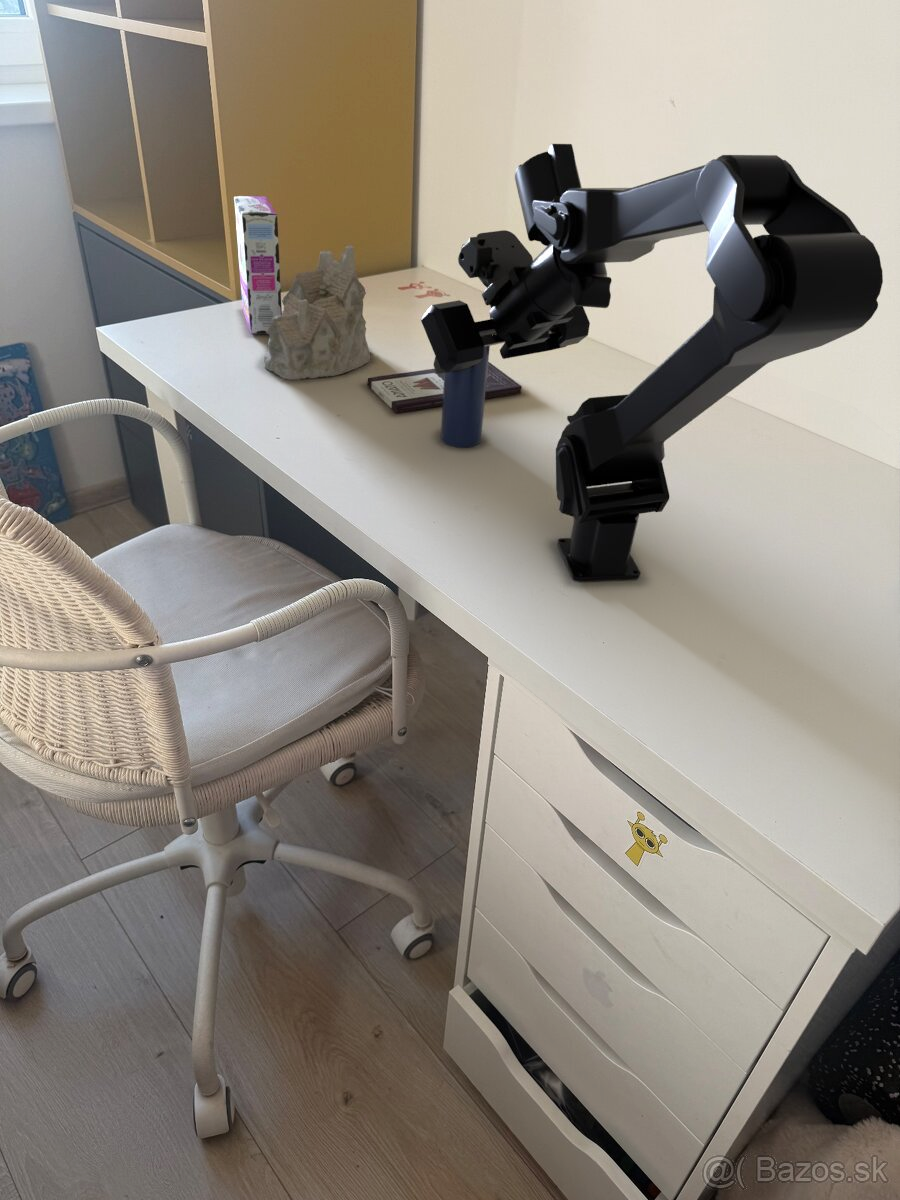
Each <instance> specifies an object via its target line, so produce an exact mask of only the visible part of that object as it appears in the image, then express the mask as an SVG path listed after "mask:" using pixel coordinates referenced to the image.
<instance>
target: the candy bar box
mask: <svg viewBox="0 0 900 1200" xmlns="http://www.w3.org/2000/svg"><path fill="white" fill-rule="evenodd" d="M233 201H234V211H235V227H236V240H237V241H236V242H237V252H238V254H237V255H238V267H239V281H240V293H241V304H242V312H243V314H244V317H245V320H246V323H247V327H248V329H249V333H250V334H251V335H269V334H268V333H266V331H267V329H268V327H269V326H270V325H271V323H272V320H273V319H275V317H276V316H281V315H282V312H283V309H282V288H281V287H282V286H281V266H280V245H279V224H278V213H277V211H276V210H275V209H274V207H273V206H272V203H271V202H270V200H269V198H268V197H267V196H258V195H257V196H256V195H239V196H236V195H235V196H233Z"/></svg>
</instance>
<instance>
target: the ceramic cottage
mask: <svg viewBox="0 0 900 1200" xmlns="http://www.w3.org/2000/svg"><path fill="white" fill-rule="evenodd" d="M354 255H355V247H354V246H352V245H347V246H345V248H344V253H341V254H340V258H339V261H338V260H336V259H335V258H334V254H333V253H332V251H329V250H322V251H321V250H320V252H319V256H318V266H317V268H316V269H313V270H308V271H303V272H299V273H296V276H295V278H294V279H293V282H292V283H291V287H290V288H289V289H288V292H287V293H286V294H285V296H283V298H282V299H281V303H282V305H283V310H282V315H281V316H276V317H275V319H273V320H272V323H271V325H270V326H269V327H268V329H267V331H266V333H268V334H267V335H269V338H268V342H267V343H268V344H267V350H268V352H267V354H266V355H264V356H263V368H265V369H266V370H267V371H270V372H271V373H275V375H276V376H277V375H278V377H280V378H281V379H284V380H288V381H289V380H291V381H293V380H297V381H298V380H301V379H305V380H306V379H307V378H308V379H317V378H322V377H323V378H324V377H326V378H327V377H335V376H339V375H341V374H345V373H349V372H351V371H352V370H357V369H359V368H361V367H362V366H364V365H367V364H368V363H370V360H371V354H370V348H369V345H368V342H367V338H366V332H367V327H366V324H367V321H366V319H365V318H364V315H363V312H364V299H365V296H366V294H367V292H366V288H365V286H364V285H363V284H362V283H361V281H360V279H359V278H358V276H357V270H356V261H355V257H354Z"/></svg>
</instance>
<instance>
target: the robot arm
mask: <svg viewBox="0 0 900 1200" xmlns="http://www.w3.org/2000/svg"><path fill="white" fill-rule="evenodd" d="M514 181H515V185H516V191H517V194H518V199H519V204H520V207H521V212H522V216H523V221H524V226H525V231H526V235H527V238H528V241H529V242H535V241H536V242H539V243H540V244H541V245H543V246H545V248H544V249H543V250H542V251H541V252H540V253H539V254H538V255H537V256H536V257H535V258H534V257H533V256H532V254H531V252H529V250H528V249H527V248H526V246H525V245H524V244H523V243H522V242H521V241H520V239H519V238H518V237H517V235H515V234H514V233H513V232H511V231H509V230H504V229H503V230H496V231H495V230H494V231H488V232H480V233H478V234H477V235H476V236H471V237H469V239H468V241H467V242H466V243H463V244H462V246H461V249H460V252H459V254H458V257H457V262H458V265H459V267H460V268H461V269H462V270H463V271H464V273H465V274H466V275H467V276H468V278H469V279H475V278H478V279H479V280H480V282H481V283H482V285H483V286H484V287H486V289H485V290H484V291H483V292H482V293H481V297H482V299H483V302H484V305H485V306H490V309H489V318H490V319H485V320H484V319H483V320H479V321H475V319H474V316H473V314H472V311H471V309H470V307H469V304H468V303H467V302H464V301H462V300H459V299H458V300H452V301H447V302H442V303H436V304H431V305H430V306H429V308H428V309H427V310H426V311H425V312H424V313H423V315H422V317H421V319H420V322H421V325H422V327H423V329H424V331H425V334H426V337H427V339H428V341H429V344H430V346H431V349H432V351H433V354H434V361H433V369H435V371H436V373H437V374H440V373H449V372H457V371H462V370H466V369H471V368H474V365H475V364H477V363H479V362H480V361H481V360H482V359H483V356H484V347H487V346H490V347H491V346H497V345H501V344H502V346H501V348H500V349H499V354H500V356H501V358H502V359H503V360H505V359H510V358H517V357H522V356H527V355H533V354H540V353H544V352H548V351H554V350H559V349H562V348H566V347H567V346H572V345H577V344H579V343H580V342H581V341H583V340H584V339H585V338H587V337H588V336H589V332H590V325H591V322H590V320H589V317H588V314H587V313H586V309H585V308H597V309H598V308H599V309H608V308H609V306H610V303H611V299H612V298H611V297H612V293H611V284H612V282H613V281H612V278H611V277H610V276H608V270H607V266H606V263H631V262H634V261H636V260H638V259H640V258H642V257H644V256H645V255H647V254H650V253H651V252H652V251H653V250H654V249H655V245H656V244H657V243H659V242H660V241H664V240H670V239H675V238H680V237H684V236H689V235H695V234H701V233H706V232H708V233H709V237H708V243H707V251H706V257H705V259H706V260H705V269H706V271H707V273H708V275H709V277H710V278H711V281H712V282H713V284H714V288H713V304H712V315H711V316H710V317H709V318H708V319H707V320H706V322H704V323H703V324H702V325H701V326H700V327H699V328H698V329H697V330H696V331H695V332H693V334H692V335H690V336H689V337H688V338H687V339H686V340H685V341H684V342H683V343H682V344H681V345H680V346H679V347H678V348H676V350H674V351H673V352H672V353H671V354H670V355H669V356H668V357H667V358H666V359H665V360H664V361H663V362H661V364H659V366H657V367H656V368H655V369H654V370H653V371H652V372H651V373H649V374H648V376H647V377H645V379H643V380H642V381H641V382H640V383H639V384H638V385H637V386H636V387H635V388H634V389H633V390H632V391H631V392H630V393H628V394H617V395H606V396H596V397H595V396H594V397H589V398H587V399H585V400H584V401H583V402H582V403H581V404H580V406H579V407H578V409H577V410H576V412H575V413H573V414H571V415H567V416H566V420H567V421H568V424H566V425H565V428H564V429H563V430H562V432H561V435H560V438H559V440H558V441H557V444H556V447H555V490H556V491H555V492H556V499H557V500H558V501H559V507H558V510H559V512H560V513H561V514H563V515H567V516H568V517H572V518H573V523H572V528H571V534H570V537H563V538H558V539H557V541H556V546H557V548H558V550H559V552H560V554H561V557H562V559H563V561H564V563H565V566H566V568H567V570H568V573H569V574H570V577H571V579H572V580H573V581H576V582H591V581H592V582H593V581H594V582H595V581H616V580H620V581H621V580H638V579H640V578H641V570H640V569H639V567H638V565H637V564H636V562H635V560H634V558H633V556H632V555H631V552H632V548H633V543H634V539H635V535H636V531H637V526H638V522H639V518H640V514H648V513H649V514H650V513H661V512H663V510H664V509H665V507H666V505H667V503H668V502H669V501H670V496H671V495H670V492H669V491H670V490H669V488H668V487H669V486H668V483H667V478H666V474H665V469H664V465H663V460H664V459H665V458H666V457H665V456H666V454H665V442H666V441H667V440H668V439H670V438H671V437H672V436H674V435H675V434H676V433H677V432H679V431H680V430H682V429H683V428H684V427H685V426H687V425H689V423H691V422H692V421H693V420H695V419H696V418H697V417H699V416H700V415H702V414H703V413H704V412H705V411H707V410H708V409H709V408H711V407H712V406H713V405H714V404H716V403H717V402H719V401H720V400H721V399H722V398H724V397H725V396H726V395H728V394H729V393H730V392H732V391H734V390H735V389H736V388H737V387H738V386H740V385H741V384H742V383H744V382H745V381H746V380H747V379H749V378H751V376H753V375H755V374H756V373H757V372H758V371H759V370H761V369H762V368H763V367H765V366H766V365H768V364H769V363H771V362H774V361H777V360H780V359H784V358H788V357H790V356H794V355H797V354H800V353H804V352H806V351H807V352H808V351H810V350H813V349H816V348H819V347H822V346H825V345H827V344H830V343H831V342H834V341H836V340H838V339H840V338H842V337H845V336H847V335H849V334H851V333H854V332H856V331H857V330H859V329H861V328H863V327H864V326H865V325H866V324H867V323H868V322H869V321H870V320H871V319H872V317H873V316H874V315H875V313H876V311H877V310H878V307H879V302H878V298H879V296H880V295H881V292H882V287H883V283H884V279H883V276H884V275H883V274H884V273H883V268H882V263H881V257H880V254H879V252H878V249H877V248H876V246H875V244H874V243H873V242H872V241H871V240H870V239H869V238H868V237H867V236H865V235H864V234H861V232H860V231H859V230H858V228H857V226H856V225H855V224H854V222H853V221H852V219H851V217H850V216H848V214H846V213H845V212H844V211H842V210H841V209H839V208H838V207H837V206H835V205H834V204H833V203H831V202H830V201H829V200H827V199H825V198H824V197H823V196H822V195H820V194H819V193H817V192H816V191H815V190H813V189H812V188H810V187H809V186H808V185H806V184H805V183H804V181H803V180H802V179H801V177H800V176H799V174H798V173H797V172H796V170H795V168H794V166H793V165H791V164H790V163H789V162H788V161H787V160H786V159H783V158H781V157H780V156H778V155H776V154H722V155H720V156H718V157H717V158H716V159H712V160H710V161H708V162H707V163H706V164H704V165H703V164H702V165H699V166H697V167H694V168H691V169H687V170H684V171H681V172H677V173H674V174H672V175H669V176H665V177H662V178H658V179H655V180H652V181H649V182H646V183H642V184H639V185H636V186H633V187H582V183H581V177H580V174H579V171H578V166H577V162H576V157H575V152H574V148H573V144H572V143H551V144H550V146H549V147H548V149H547V151H544V152H541V153H538V154H536V155H534V156H531V157H530V158H529V159H527V160H526V161H524V162H523V163H521V164H519V165H518V167H517V168H516V169H515V173H514ZM755 225H756V226H757V225H759V226H760V225H762V227H763V228H764V230H765V231H766V233H767V234H761V235H757V236H754V237H753V236H752V234H751V232H750V231H749V229H748V228H747V226H755ZM489 335H490V336H489Z"/></svg>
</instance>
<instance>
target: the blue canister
mask: <svg viewBox="0 0 900 1200" xmlns="http://www.w3.org/2000/svg"><path fill="white" fill-rule="evenodd" d="M489 336H490V335H489ZM490 348H491V346H487V347H484V356H483V359H482V360H481V361H480V362H479V363H477V364H475V365H474V368H471V369H466V370H462V371H457V372H449V373H444V388H443V404H442V406H441V422H440V423H441V424H440V439H441V441H442V442H443V444H446V445H447V446H450V447H455V448H461V449H463V448H472V447H475V446H478V445H479V444H480V443H481V441H482V434H483V425H484V423H483V422H484V413H485V412H484V411H485V402H486V399H485V393H486V382H487V371H488V362H489V360H490V359H489V358H490Z"/></svg>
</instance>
